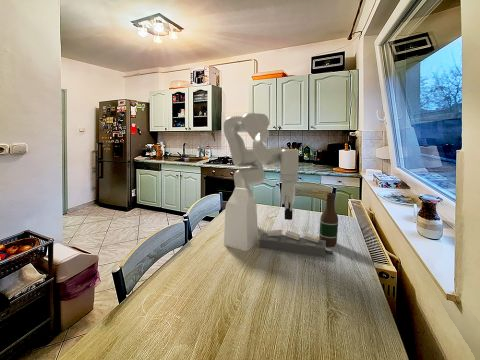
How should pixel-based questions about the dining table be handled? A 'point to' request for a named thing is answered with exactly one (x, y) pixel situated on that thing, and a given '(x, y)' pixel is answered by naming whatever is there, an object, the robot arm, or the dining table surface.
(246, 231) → the milk
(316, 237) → the rocker
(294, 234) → the rocker mid
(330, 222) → the beer bottle
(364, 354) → the dining table surface
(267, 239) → the power strip
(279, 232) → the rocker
